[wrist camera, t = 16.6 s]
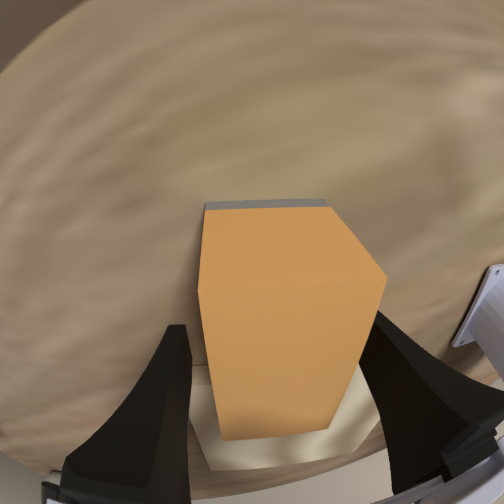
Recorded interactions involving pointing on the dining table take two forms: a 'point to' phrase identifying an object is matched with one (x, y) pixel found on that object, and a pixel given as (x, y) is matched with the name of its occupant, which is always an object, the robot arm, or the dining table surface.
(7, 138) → the dining table surface
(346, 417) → the board
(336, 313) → the block
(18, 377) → the dining table surface
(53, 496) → the black egg shaped device
